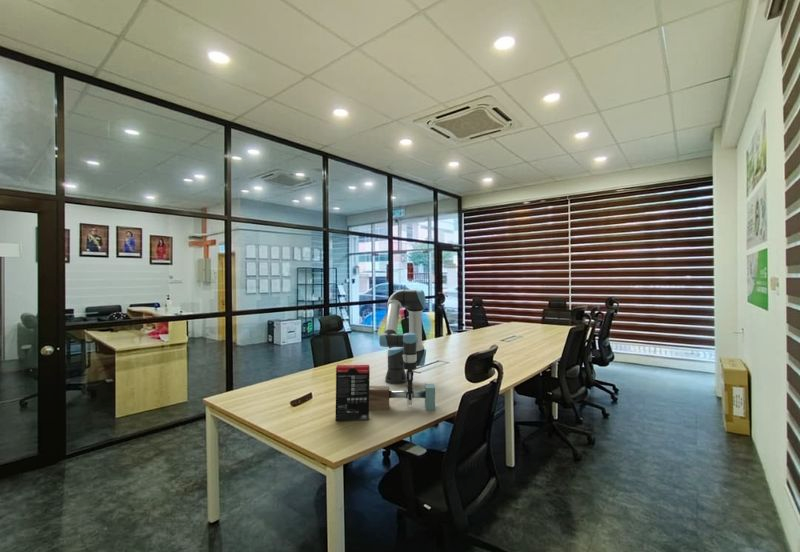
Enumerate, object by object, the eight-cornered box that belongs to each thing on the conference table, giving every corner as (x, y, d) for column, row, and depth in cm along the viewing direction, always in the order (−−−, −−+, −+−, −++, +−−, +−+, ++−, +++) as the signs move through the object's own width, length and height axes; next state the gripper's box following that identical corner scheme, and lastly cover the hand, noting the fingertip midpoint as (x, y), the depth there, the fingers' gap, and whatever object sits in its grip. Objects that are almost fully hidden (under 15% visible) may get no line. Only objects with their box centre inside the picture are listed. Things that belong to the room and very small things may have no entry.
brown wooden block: (368, 405, 205) (368, 385, 205) (389, 405, 205) (389, 385, 205) (366, 409, 198) (366, 389, 198) (388, 409, 198) (388, 389, 198)
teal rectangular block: (424, 404, 205) (424, 383, 205) (433, 404, 205) (433, 383, 205) (425, 410, 197) (425, 387, 197) (435, 410, 197) (434, 387, 197)
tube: (380, 399, 199) (380, 391, 199) (381, 396, 203) (381, 389, 203) (428, 399, 199) (428, 391, 199) (427, 397, 203) (427, 389, 203)
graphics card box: (369, 415, 190) (369, 363, 190) (369, 420, 183) (369, 366, 183) (336, 416, 188) (336, 364, 188) (335, 422, 181) (335, 367, 181)
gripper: (403, 357, 210) (403, 398, 210) (402, 365, 193) (403, 409, 192) (416, 357, 210) (416, 398, 210) (417, 365, 192) (417, 409, 192)
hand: (409, 403), depth 201 cm, fingers closed on tube, 4 cm apart
